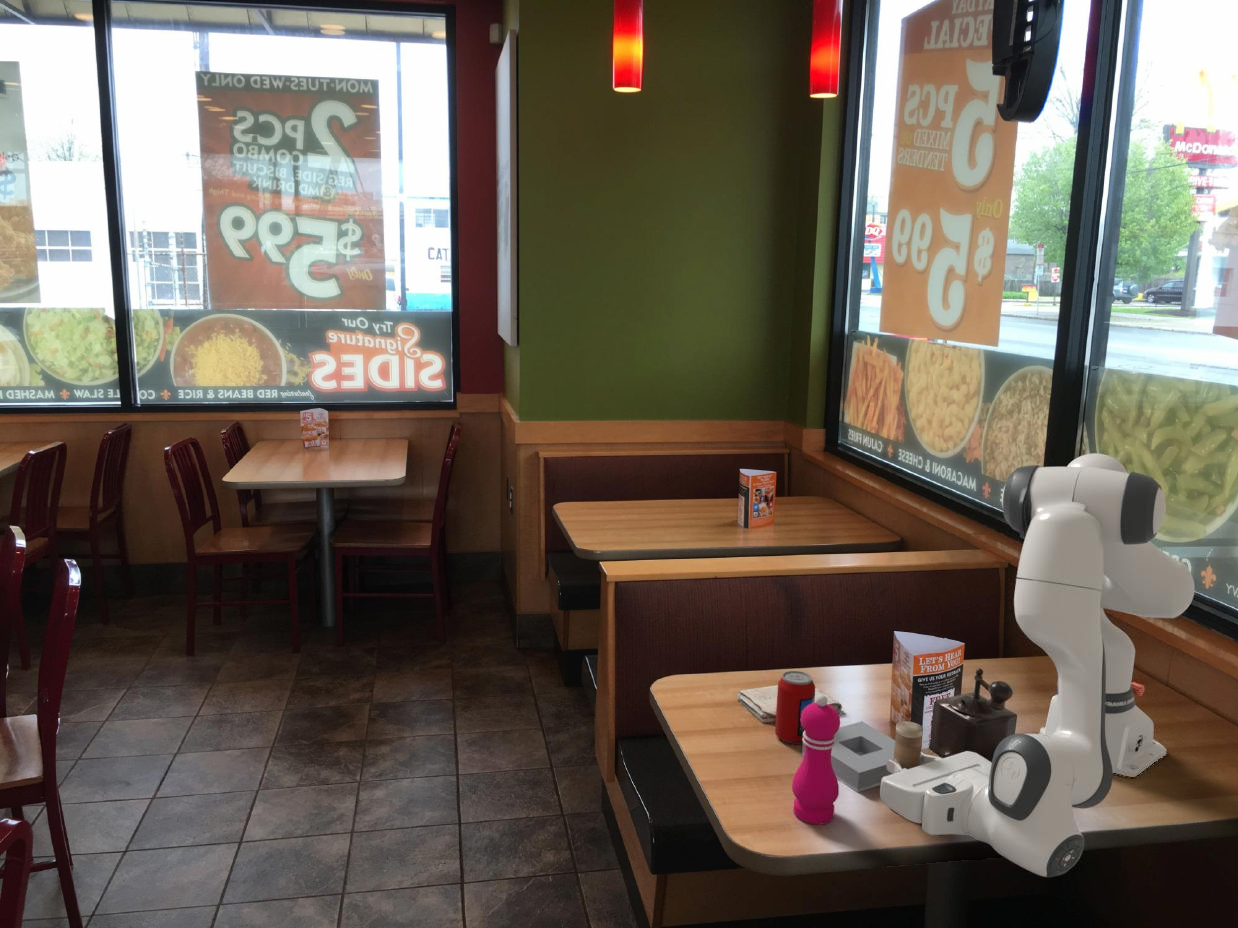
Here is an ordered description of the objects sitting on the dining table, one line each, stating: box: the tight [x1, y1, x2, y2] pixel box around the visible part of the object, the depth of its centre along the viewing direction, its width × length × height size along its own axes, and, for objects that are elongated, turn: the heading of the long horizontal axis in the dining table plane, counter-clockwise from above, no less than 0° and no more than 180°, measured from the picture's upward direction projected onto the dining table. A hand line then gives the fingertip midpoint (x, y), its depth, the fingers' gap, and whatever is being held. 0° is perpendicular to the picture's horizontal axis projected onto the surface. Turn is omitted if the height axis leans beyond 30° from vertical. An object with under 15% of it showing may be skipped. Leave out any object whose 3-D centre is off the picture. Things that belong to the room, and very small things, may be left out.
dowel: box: [889, 721, 924, 815], centre depth 152 cm, size 4×4×14 cm
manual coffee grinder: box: [928, 667, 1018, 763], centre depth 168 cm, size 16×11×18 cm
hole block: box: [801, 721, 895, 793], centre depth 167 cm, size 14×14×4 cm
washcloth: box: [737, 684, 843, 724], centre depth 189 cm, size 12×18×3 cm, turn 112°
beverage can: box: [774, 670, 816, 745], centre depth 175 cm, size 7×7×12 cm
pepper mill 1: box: [791, 695, 841, 825], centre depth 149 cm, size 7×7×20 cm
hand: (902, 759), depth 152 cm, fingers closed on dowel, 4 cm apart
